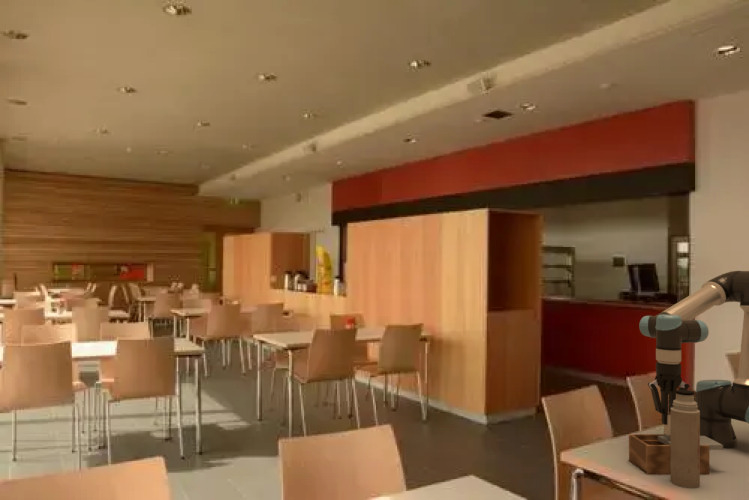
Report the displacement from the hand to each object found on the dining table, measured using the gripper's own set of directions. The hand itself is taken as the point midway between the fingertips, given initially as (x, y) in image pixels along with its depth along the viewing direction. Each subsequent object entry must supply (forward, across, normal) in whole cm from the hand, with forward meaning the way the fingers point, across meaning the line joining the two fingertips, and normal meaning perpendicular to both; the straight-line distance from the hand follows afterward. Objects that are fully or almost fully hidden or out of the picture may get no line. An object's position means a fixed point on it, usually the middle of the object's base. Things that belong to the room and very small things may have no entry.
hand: (668, 434), depth 200 cm
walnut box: (+11, 0, 0) cm, 11 cm away
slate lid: (+3, -7, 0) cm, 8 cm away
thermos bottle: (+11, +2, +14) cm, 18 cm away
